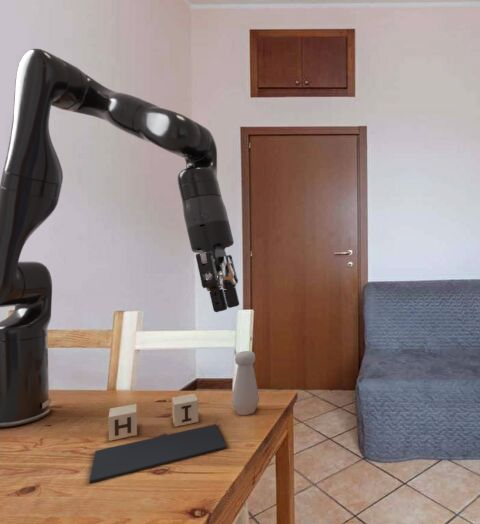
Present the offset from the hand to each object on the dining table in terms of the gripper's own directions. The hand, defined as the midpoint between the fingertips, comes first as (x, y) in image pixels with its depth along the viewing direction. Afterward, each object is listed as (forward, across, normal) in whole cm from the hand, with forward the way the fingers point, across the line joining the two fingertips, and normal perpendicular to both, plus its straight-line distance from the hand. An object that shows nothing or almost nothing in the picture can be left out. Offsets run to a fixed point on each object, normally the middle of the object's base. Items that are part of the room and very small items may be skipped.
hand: (227, 308), depth 69 cm
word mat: (+21, +2, -16) cm, 27 cm away
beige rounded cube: (+19, -5, -26) cm, 32 cm away
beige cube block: (+21, -10, -16) cm, 28 cm away
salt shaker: (+23, -14, -5) cm, 27 cm away
